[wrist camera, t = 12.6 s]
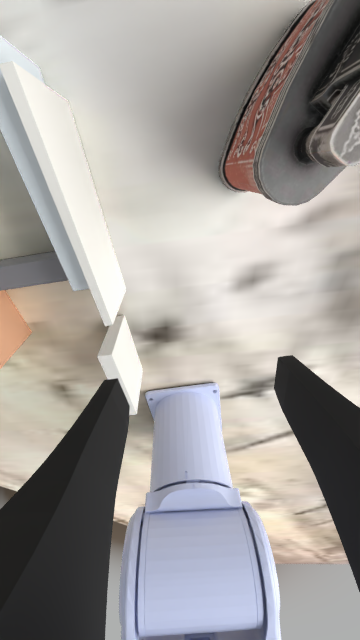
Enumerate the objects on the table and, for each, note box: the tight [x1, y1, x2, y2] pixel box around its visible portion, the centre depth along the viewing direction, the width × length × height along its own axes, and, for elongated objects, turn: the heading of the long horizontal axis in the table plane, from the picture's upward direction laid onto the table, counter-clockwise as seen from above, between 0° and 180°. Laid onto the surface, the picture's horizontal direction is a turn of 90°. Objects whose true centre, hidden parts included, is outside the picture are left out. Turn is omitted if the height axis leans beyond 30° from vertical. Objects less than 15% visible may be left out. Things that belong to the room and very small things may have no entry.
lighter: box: [218, 0, 360, 205], centre depth 8 cm, size 8×3×10 cm, turn 151°
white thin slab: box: [0, 61, 143, 415], centre depth 15 cm, size 20×2×5 cm, turn 8°
